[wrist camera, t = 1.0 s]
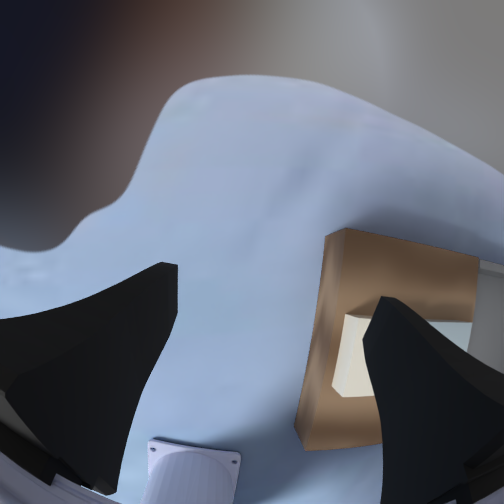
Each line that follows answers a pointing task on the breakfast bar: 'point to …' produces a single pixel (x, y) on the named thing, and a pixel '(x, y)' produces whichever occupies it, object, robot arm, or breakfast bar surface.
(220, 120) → the breakfast bar surface
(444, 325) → the blue grey tile
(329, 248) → the tan wooden board
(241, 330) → the breakfast bar surface
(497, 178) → the breakfast bar surface
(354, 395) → the cream tile
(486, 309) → the bin
